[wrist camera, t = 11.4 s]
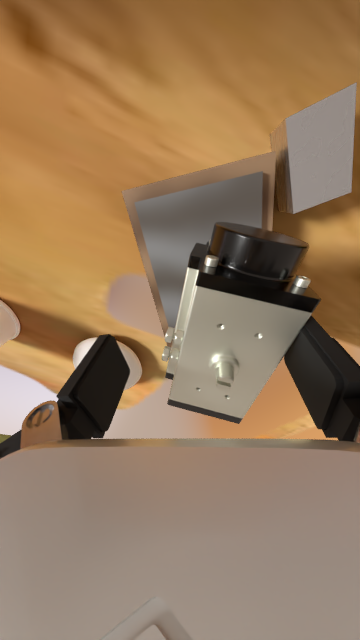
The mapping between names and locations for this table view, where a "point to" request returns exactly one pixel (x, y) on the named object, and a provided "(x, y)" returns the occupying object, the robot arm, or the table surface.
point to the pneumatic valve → (236, 318)
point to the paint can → (8, 324)
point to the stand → (195, 220)
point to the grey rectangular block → (315, 152)
